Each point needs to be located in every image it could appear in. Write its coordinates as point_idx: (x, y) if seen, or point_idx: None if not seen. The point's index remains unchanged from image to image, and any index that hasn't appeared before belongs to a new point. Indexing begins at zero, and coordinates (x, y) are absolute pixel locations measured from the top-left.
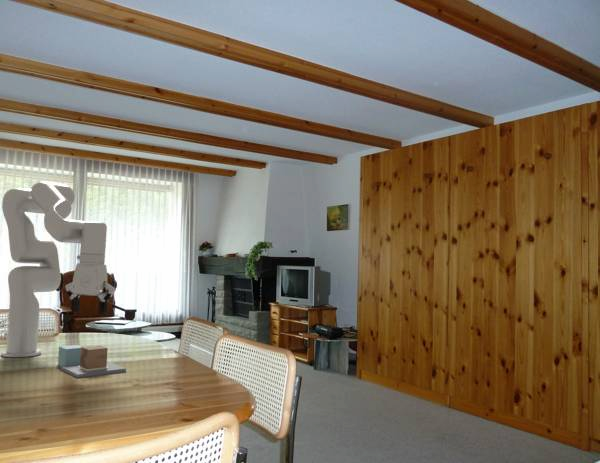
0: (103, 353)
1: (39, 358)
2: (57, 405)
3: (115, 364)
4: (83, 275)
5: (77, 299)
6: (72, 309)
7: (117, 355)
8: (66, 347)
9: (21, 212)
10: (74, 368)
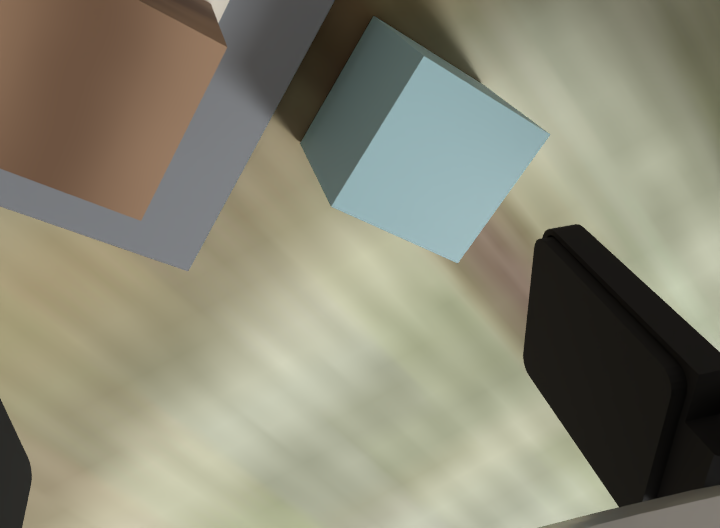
0: None
1: (695, 190)
2: None
3: (29, 214)
4: None
5: (662, 488)
6: (576, 246)
7: (333, 466)
8: (469, 128)
9: None
10: None
